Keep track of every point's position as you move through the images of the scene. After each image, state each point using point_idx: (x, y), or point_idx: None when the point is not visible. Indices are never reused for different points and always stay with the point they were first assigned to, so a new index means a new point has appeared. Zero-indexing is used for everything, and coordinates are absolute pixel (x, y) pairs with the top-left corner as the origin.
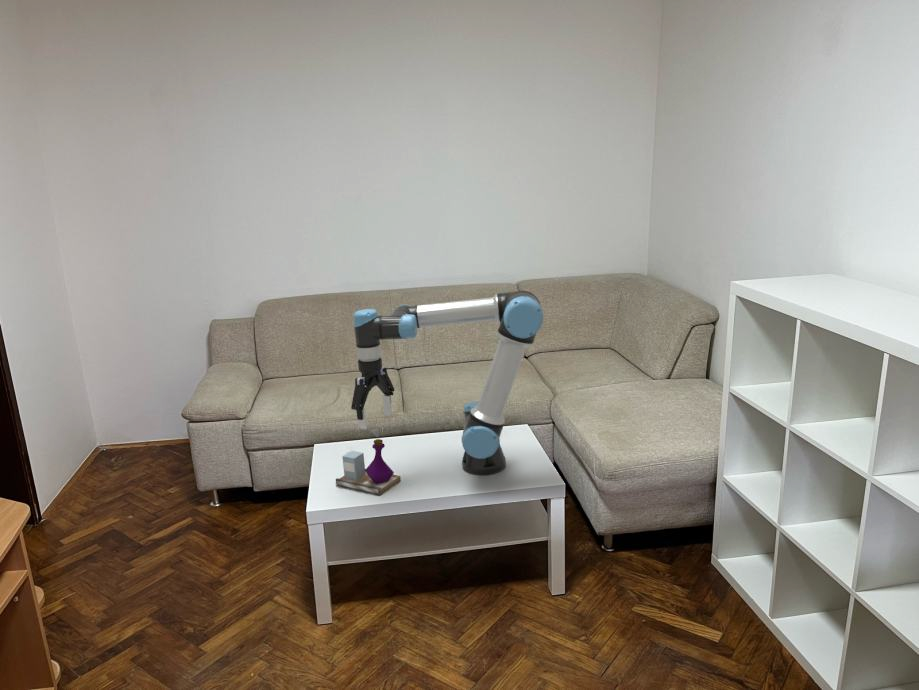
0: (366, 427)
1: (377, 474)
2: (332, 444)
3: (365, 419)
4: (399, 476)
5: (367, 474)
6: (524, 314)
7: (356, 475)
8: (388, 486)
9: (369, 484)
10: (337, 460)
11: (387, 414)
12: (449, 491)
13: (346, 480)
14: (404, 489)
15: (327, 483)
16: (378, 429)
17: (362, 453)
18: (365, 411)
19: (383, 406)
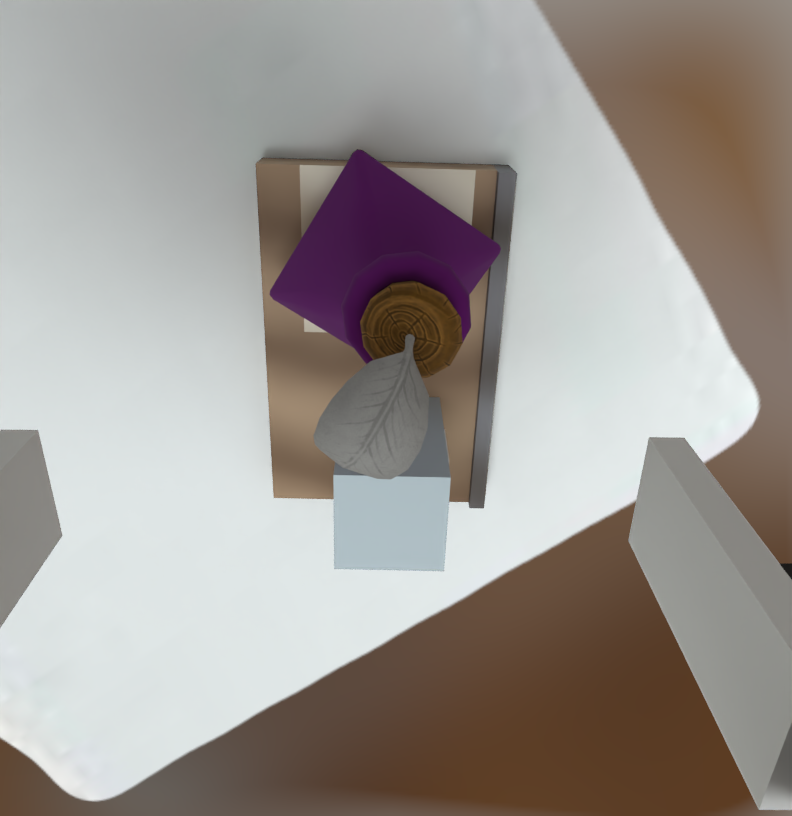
0: (672, 448)
1: (464, 236)
2: (67, 769)
3: (735, 526)
4: (265, 163)
5: (335, 387)
6: None
7: (435, 412)
8: (405, 165)
9: None
10: (207, 652)
11: (48, 483)
12: None
13: (478, 443)
14: (356, 52)
15: (464, 542)
16: (336, 409)
17: (345, 475)
18: (777, 633)
19: (3, 617)
